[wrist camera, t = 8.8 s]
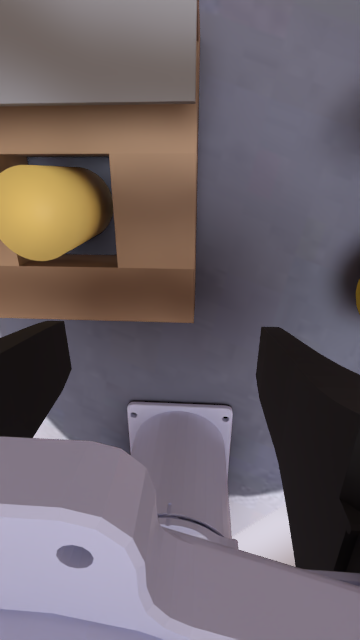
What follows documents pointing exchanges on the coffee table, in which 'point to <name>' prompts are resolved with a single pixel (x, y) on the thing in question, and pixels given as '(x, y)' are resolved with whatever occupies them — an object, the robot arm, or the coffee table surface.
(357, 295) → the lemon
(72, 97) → the porch socket
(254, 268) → the coffee table surface
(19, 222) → the peg
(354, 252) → the coffee table surface
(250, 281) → the coffee table surface
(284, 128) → the coffee table surface
